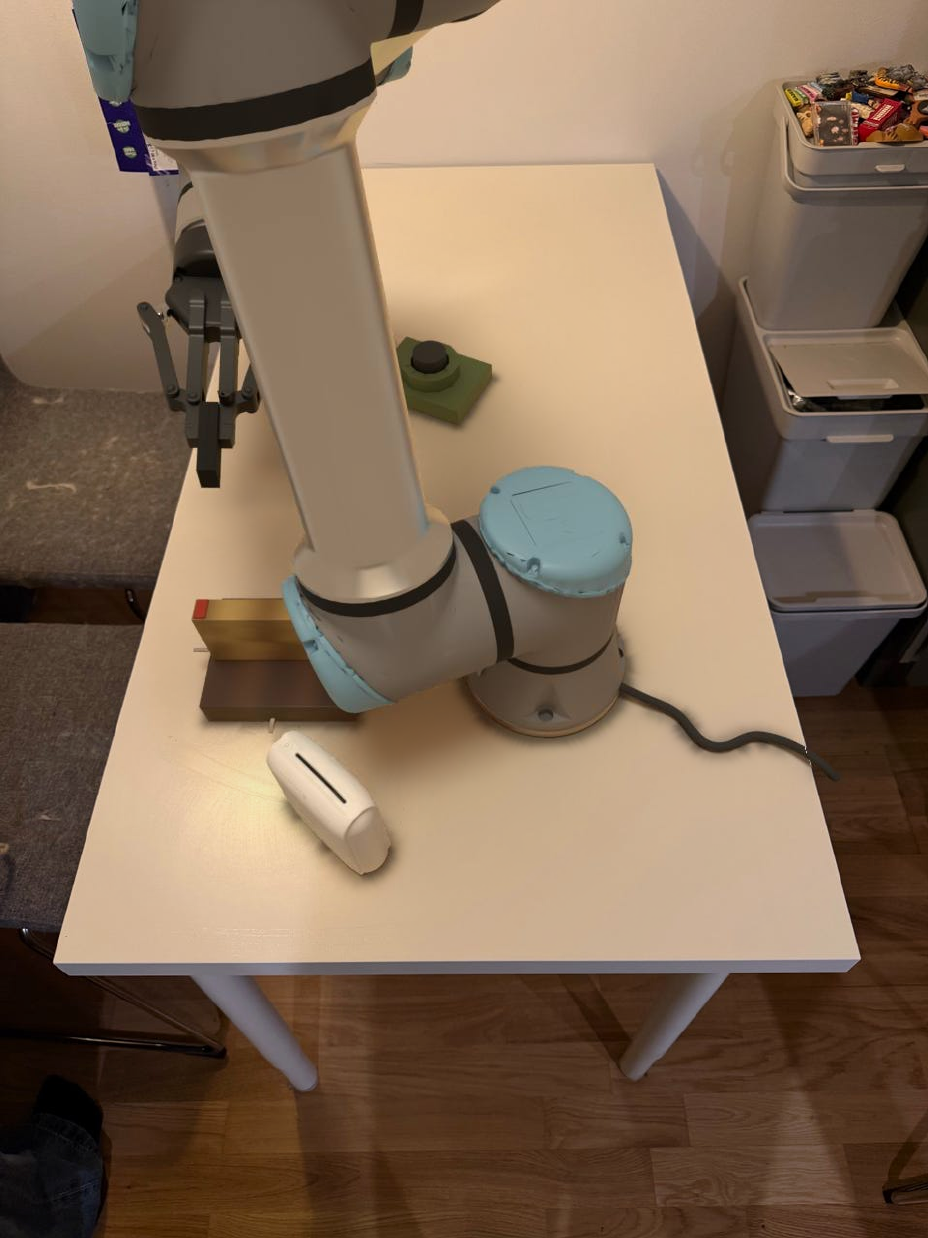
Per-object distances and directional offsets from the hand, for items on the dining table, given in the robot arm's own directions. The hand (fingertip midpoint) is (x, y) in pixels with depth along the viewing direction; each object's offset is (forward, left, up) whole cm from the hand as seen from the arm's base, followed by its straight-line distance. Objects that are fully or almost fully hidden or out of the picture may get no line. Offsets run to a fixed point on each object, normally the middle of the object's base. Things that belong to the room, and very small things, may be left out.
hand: (208, 479), depth 67 cm
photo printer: (-22, +8, -21) cm, 32 cm away
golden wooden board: (-6, +1, -18) cm, 19 cm away
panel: (-6, +1, -21) cm, 22 cm away
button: (+14, -35, -18) cm, 41 cm away
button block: (+14, -35, -21) cm, 43 cm away
